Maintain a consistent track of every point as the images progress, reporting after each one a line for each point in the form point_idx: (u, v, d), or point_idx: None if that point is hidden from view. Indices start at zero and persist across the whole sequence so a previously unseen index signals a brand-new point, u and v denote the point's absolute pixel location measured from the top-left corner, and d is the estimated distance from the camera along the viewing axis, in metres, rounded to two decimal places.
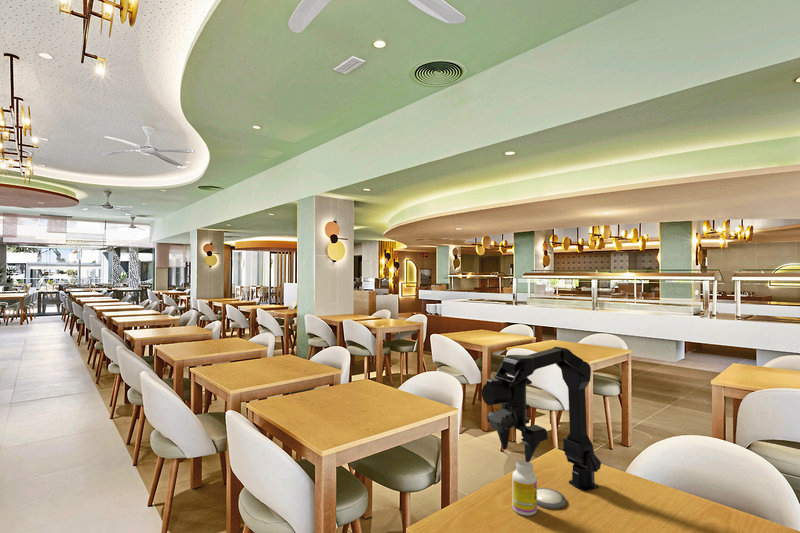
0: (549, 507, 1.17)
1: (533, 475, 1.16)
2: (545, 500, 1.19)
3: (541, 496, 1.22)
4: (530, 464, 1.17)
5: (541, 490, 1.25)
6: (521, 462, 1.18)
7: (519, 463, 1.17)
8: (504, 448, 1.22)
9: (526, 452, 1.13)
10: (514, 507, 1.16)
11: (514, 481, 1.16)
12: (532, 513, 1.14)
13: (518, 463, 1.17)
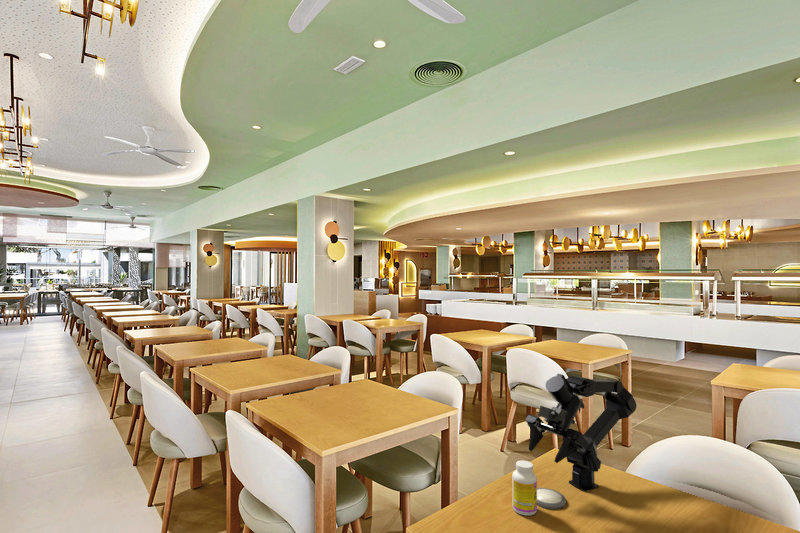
0: (549, 507, 1.17)
1: (533, 475, 1.16)
2: (545, 500, 1.19)
3: (541, 496, 1.22)
4: (530, 464, 1.17)
5: (541, 490, 1.25)
6: (521, 462, 1.18)
7: (519, 463, 1.17)
8: (530, 449, 1.25)
9: (560, 451, 1.17)
10: (514, 507, 1.16)
11: (514, 481, 1.16)
12: (532, 513, 1.14)
13: (518, 463, 1.17)
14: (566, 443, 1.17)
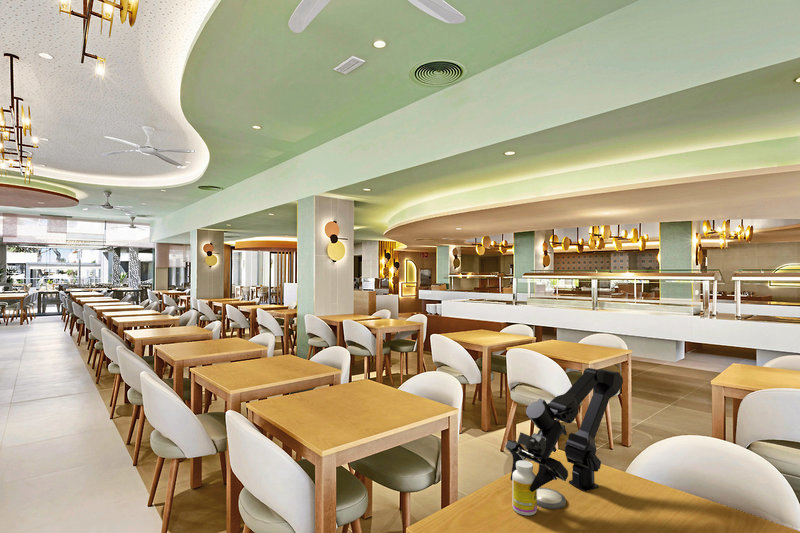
0: (549, 507, 1.17)
1: (533, 475, 1.16)
2: (545, 500, 1.19)
3: (541, 496, 1.22)
4: (530, 464, 1.17)
5: (541, 490, 1.25)
6: (521, 462, 1.18)
7: (519, 463, 1.17)
8: None
9: (536, 480, 1.13)
10: (514, 507, 1.16)
11: (514, 481, 1.16)
12: (532, 513, 1.14)
13: (518, 463, 1.17)
14: (542, 471, 1.13)
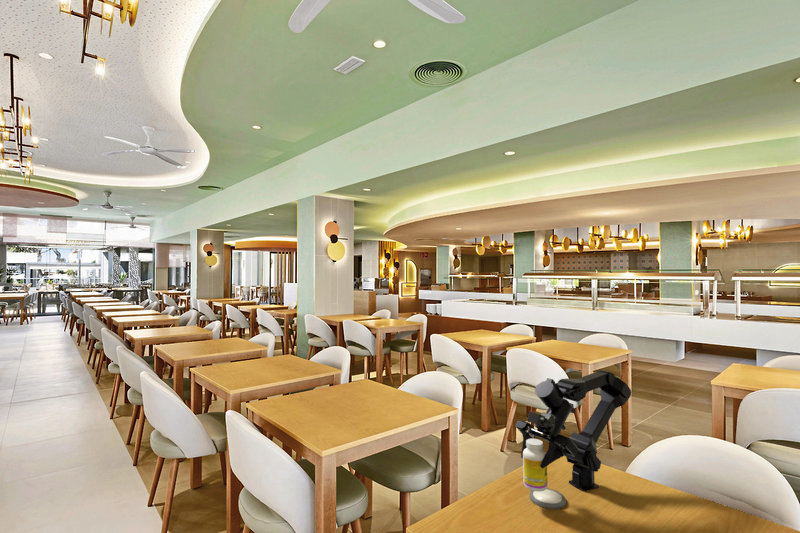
0: (549, 507, 1.17)
1: (543, 452, 1.18)
2: (545, 500, 1.19)
3: (541, 496, 1.22)
4: (540, 442, 1.19)
5: None
6: (531, 440, 1.20)
7: (529, 441, 1.20)
8: (522, 456, 1.21)
9: (546, 456, 1.16)
10: (525, 484, 1.18)
11: (525, 458, 1.18)
12: (543, 489, 1.16)
13: (528, 441, 1.20)
14: (552, 448, 1.16)
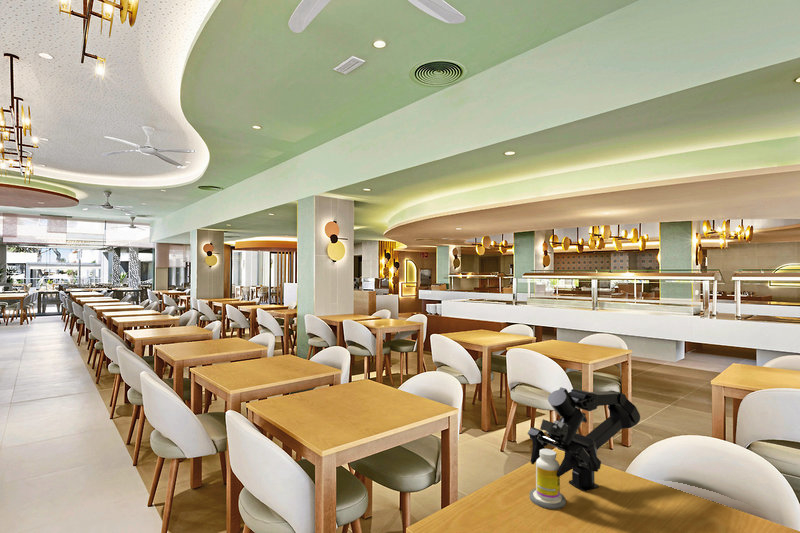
0: (549, 507, 1.17)
1: (556, 462, 1.21)
2: (545, 500, 1.19)
3: None
4: (553, 452, 1.22)
5: None
6: (544, 450, 1.24)
7: (542, 451, 1.23)
8: (532, 462, 1.25)
9: (562, 465, 1.18)
10: (538, 493, 1.21)
11: (538, 468, 1.21)
12: (555, 498, 1.19)
13: (542, 451, 1.23)
14: (568, 457, 1.18)
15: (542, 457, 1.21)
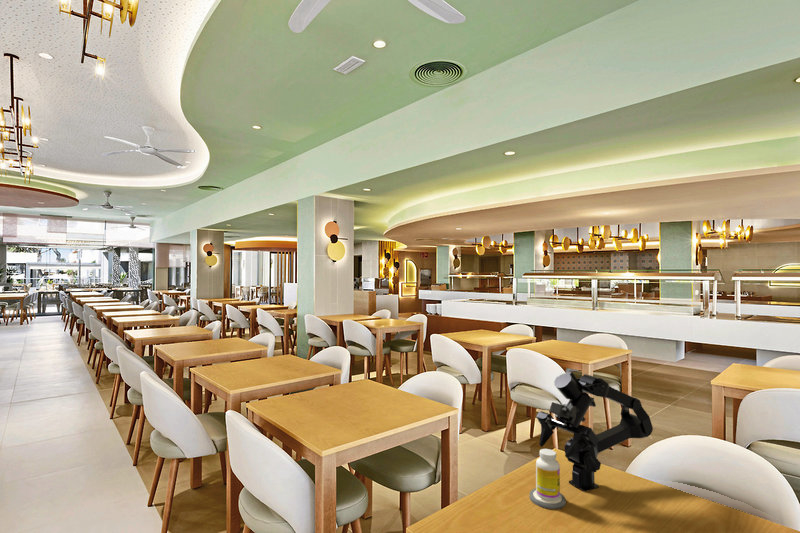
0: (549, 507, 1.17)
1: (556, 462, 1.21)
2: (545, 500, 1.19)
3: None
4: (553, 452, 1.22)
5: None
6: (544, 450, 1.23)
7: (542, 451, 1.23)
8: (541, 444, 1.28)
9: (571, 446, 1.20)
10: (538, 493, 1.21)
11: (538, 468, 1.21)
12: (555, 498, 1.19)
13: (542, 451, 1.23)
14: (577, 439, 1.20)
15: (542, 457, 1.21)
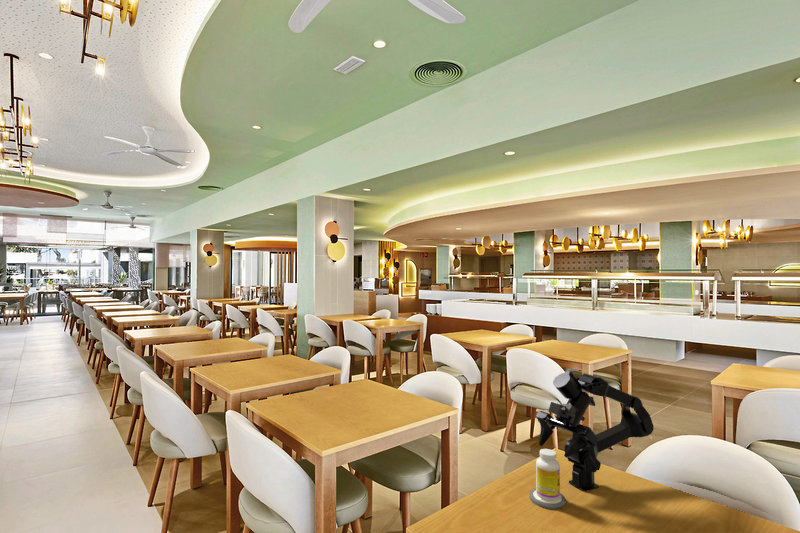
0: (549, 507, 1.17)
1: (556, 462, 1.21)
2: (545, 500, 1.19)
3: None
4: (553, 452, 1.22)
5: None
6: (545, 450, 1.23)
7: (543, 451, 1.23)
8: (540, 444, 1.28)
9: (570, 446, 1.20)
10: (538, 493, 1.21)
11: (538, 468, 1.21)
12: (555, 498, 1.19)
13: (542, 451, 1.23)
14: (576, 438, 1.20)
15: (542, 457, 1.21)
